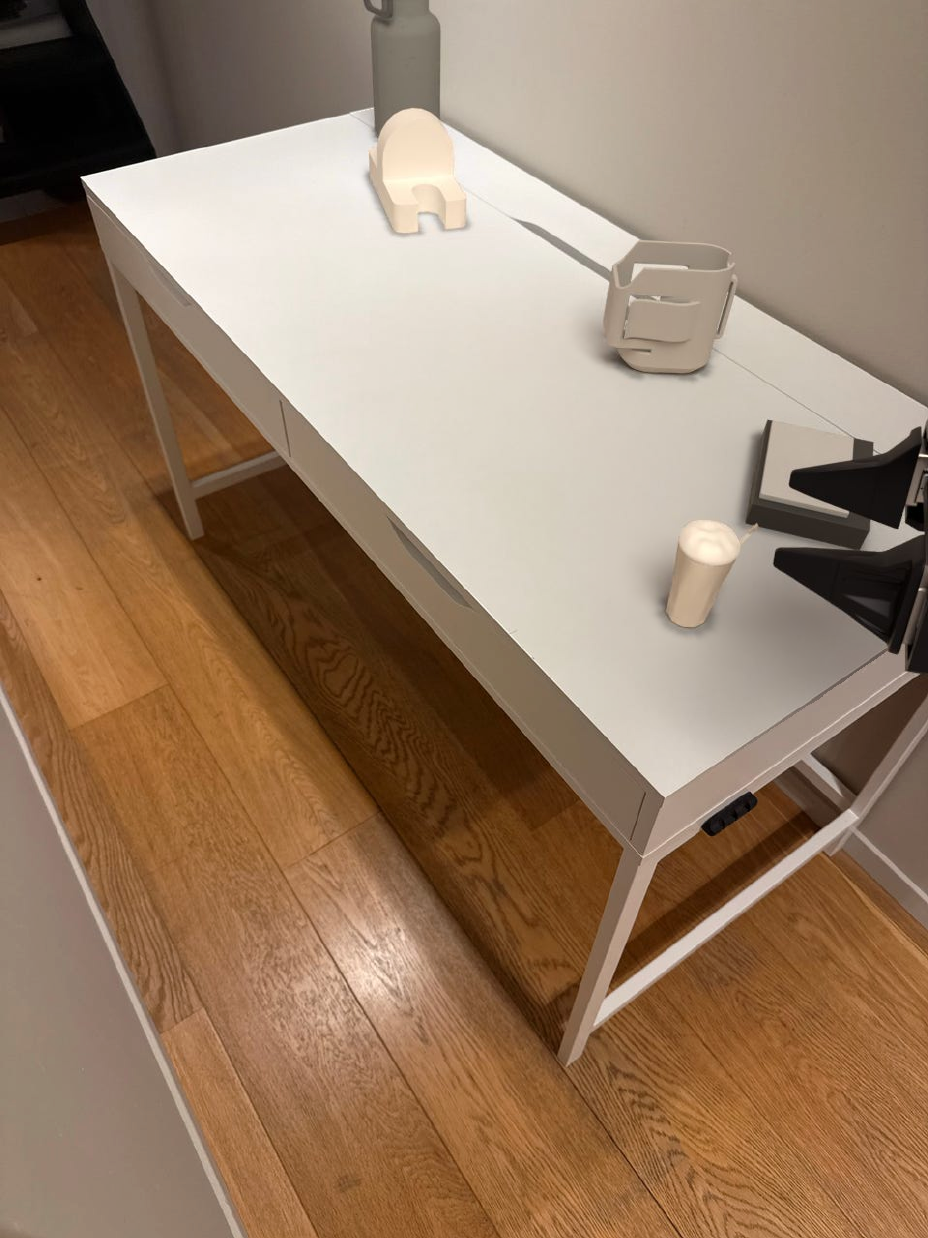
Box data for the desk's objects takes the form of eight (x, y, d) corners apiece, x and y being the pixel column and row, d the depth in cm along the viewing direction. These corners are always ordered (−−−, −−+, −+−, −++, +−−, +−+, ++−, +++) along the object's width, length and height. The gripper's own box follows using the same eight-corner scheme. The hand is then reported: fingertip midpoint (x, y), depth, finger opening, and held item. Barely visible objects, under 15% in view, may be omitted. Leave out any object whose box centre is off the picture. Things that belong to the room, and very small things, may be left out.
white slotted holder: (434, 169, 126) (435, 85, 118) (467, 227, 115) (470, 138, 107) (368, 174, 124) (364, 89, 116) (395, 233, 113) (392, 144, 105)
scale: (864, 461, 86) (876, 436, 84) (859, 550, 78) (872, 525, 75) (760, 438, 88) (769, 413, 85) (745, 523, 79) (754, 498, 77)
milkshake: (728, 635, 71) (764, 546, 63) (661, 633, 71) (689, 544, 63) (718, 593, 74) (751, 504, 66) (654, 591, 74) (680, 501, 66)
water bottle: (398, 153, 129) (392, -87, 108) (360, 131, 134) (347, -103, 113) (452, 137, 134) (457, -97, 112) (413, 116, 138) (411, -112, 117)
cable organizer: (598, 343, 98) (615, 237, 89) (709, 349, 98) (738, 243, 89) (602, 378, 94) (620, 271, 84) (719, 384, 94) (750, 277, 84)
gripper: (1114, 344, 49) (817, 325, 54) (1193, 512, 36) (789, 466, 41) (1046, 516, 56) (788, 485, 61) (1091, 711, 43) (756, 651, 48)
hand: (782, 515), depth 52 cm, fingers open, 9 cm apart
